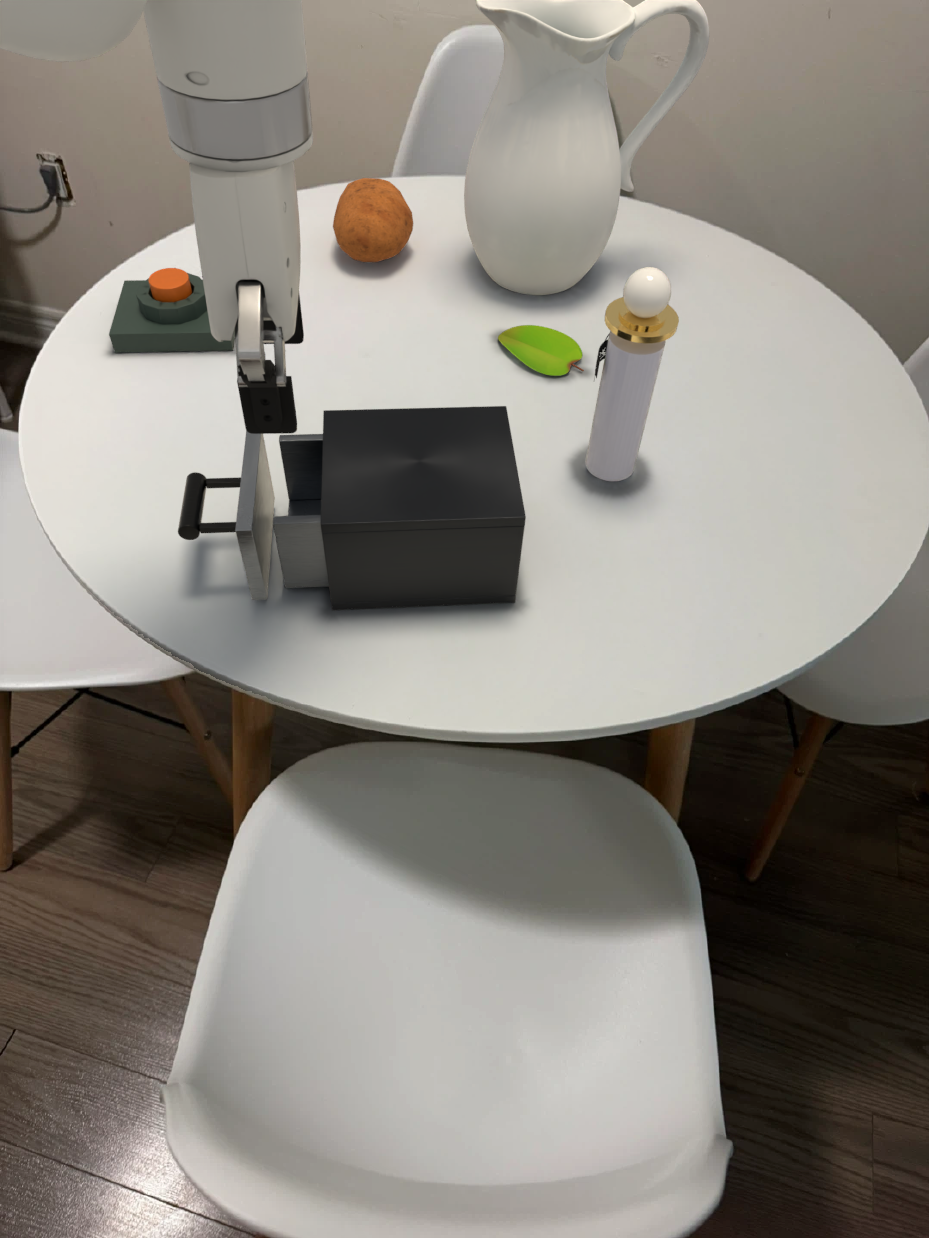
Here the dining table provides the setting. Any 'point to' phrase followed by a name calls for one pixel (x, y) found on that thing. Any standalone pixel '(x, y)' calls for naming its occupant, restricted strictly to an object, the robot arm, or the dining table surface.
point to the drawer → (269, 513)
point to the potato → (372, 220)
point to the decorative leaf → (542, 348)
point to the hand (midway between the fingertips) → (277, 384)
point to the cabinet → (420, 507)
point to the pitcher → (560, 136)
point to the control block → (163, 321)
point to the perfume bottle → (629, 372)
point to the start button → (170, 285)
